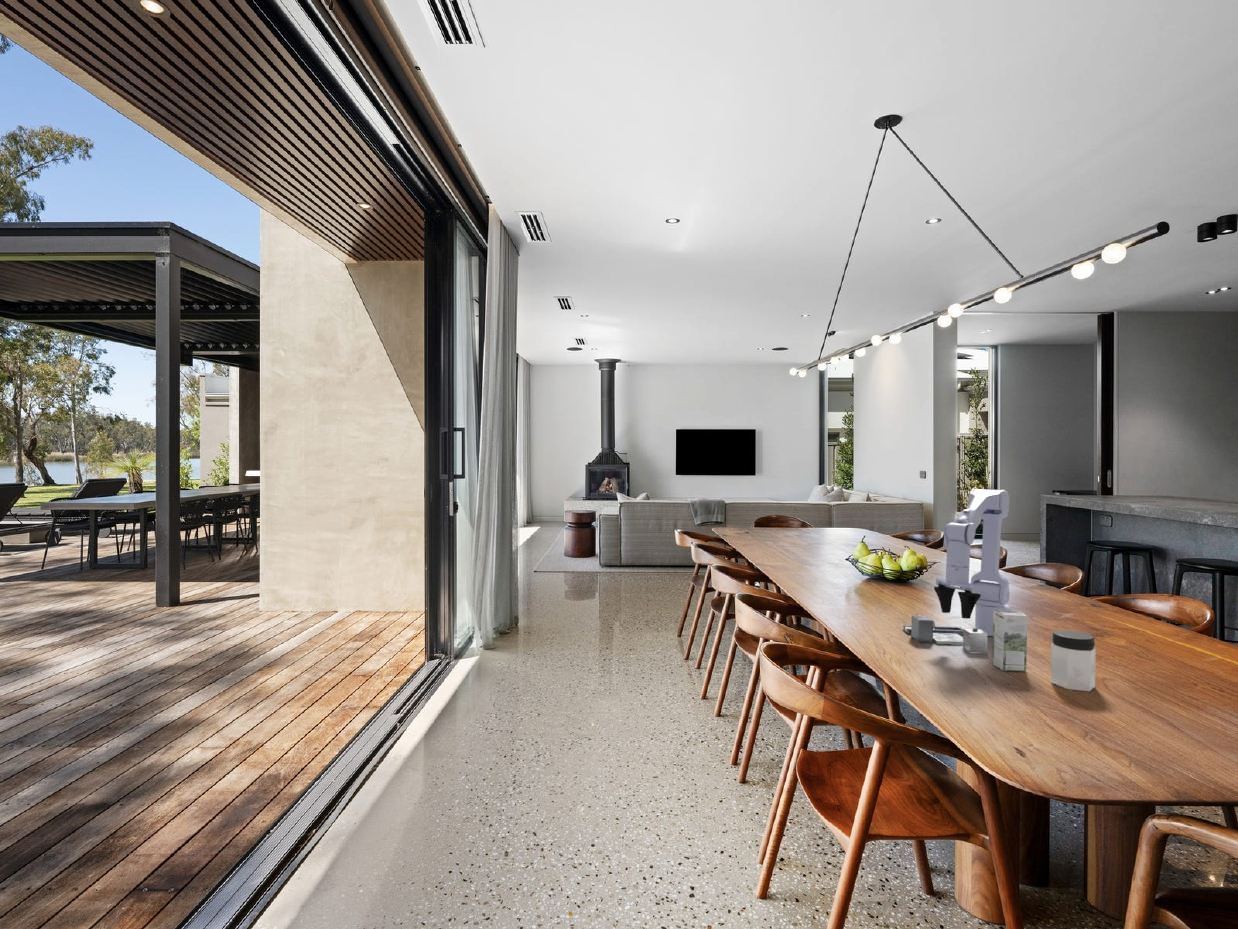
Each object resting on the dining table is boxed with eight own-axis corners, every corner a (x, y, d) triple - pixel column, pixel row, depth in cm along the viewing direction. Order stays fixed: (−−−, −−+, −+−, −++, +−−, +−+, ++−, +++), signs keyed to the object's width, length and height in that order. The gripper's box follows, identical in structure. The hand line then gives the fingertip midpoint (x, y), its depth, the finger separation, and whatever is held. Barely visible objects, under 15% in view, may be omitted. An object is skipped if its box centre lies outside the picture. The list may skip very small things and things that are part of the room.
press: (960, 631, 198) (960, 610, 198) (981, 646, 183) (982, 623, 183) (903, 630, 200) (903, 609, 200) (920, 644, 185) (920, 621, 185)
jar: (1056, 689, 150) (1057, 637, 149) (1045, 677, 157) (1045, 628, 157) (1102, 693, 147) (1102, 641, 147) (1088, 681, 155) (1088, 631, 155)
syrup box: (1015, 665, 167) (1015, 609, 167) (1027, 672, 161) (1028, 614, 161) (991, 664, 167) (992, 608, 167) (1003, 671, 161) (1003, 614, 161)
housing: (979, 648, 181) (980, 627, 181) (987, 653, 177) (987, 631, 177) (963, 648, 182) (963, 626, 182) (969, 652, 177) (970, 630, 177)
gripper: (927, 562, 185) (925, 610, 185) (964, 569, 171) (962, 620, 170) (948, 563, 187) (946, 610, 186) (987, 570, 173) (985, 621, 172)
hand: (955, 615), depth 178 cm, fingers open, 7 cm apart
